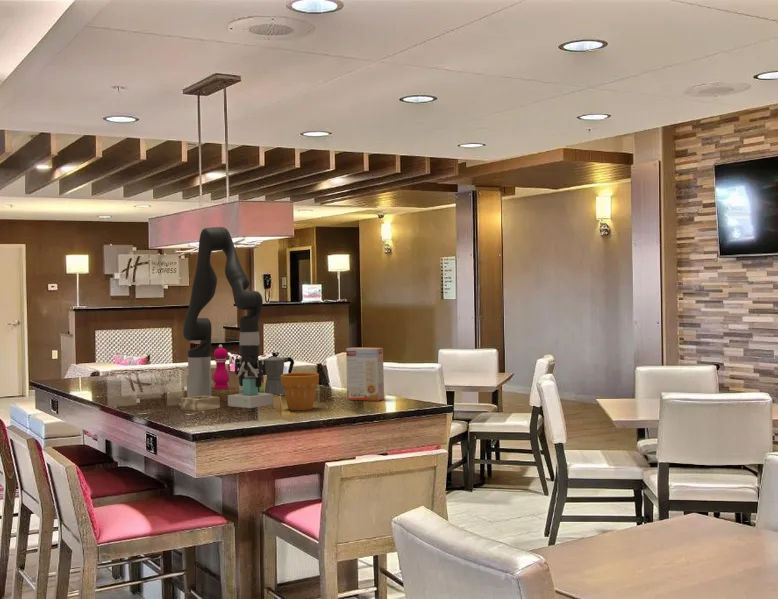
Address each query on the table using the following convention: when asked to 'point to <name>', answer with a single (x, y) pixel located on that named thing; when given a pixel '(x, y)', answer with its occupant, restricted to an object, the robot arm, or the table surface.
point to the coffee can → (250, 373)
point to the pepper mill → (220, 369)
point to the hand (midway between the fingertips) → (250, 386)
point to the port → (250, 400)
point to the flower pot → (300, 389)
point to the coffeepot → (276, 373)
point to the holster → (200, 403)
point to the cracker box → (365, 374)
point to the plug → (249, 386)
